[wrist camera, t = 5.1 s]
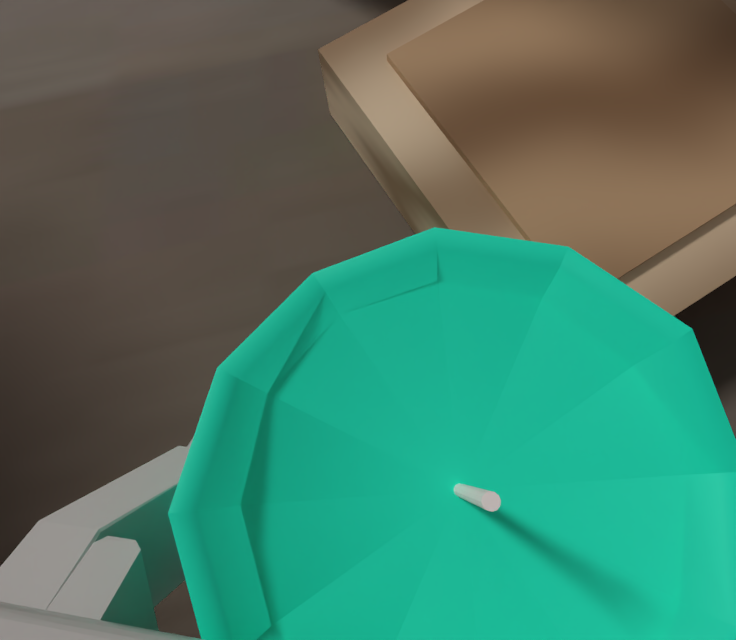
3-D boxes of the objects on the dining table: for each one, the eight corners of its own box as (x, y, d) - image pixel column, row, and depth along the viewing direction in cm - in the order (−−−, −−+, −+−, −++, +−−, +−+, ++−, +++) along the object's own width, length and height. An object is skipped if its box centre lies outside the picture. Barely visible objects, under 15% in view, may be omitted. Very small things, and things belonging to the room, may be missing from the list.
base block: (329, 113, 19) (316, 42, 16) (603, -40, 20) (641, -134, 17) (533, 401, 16) (567, 385, 13) (841, 201, 17) (942, 141, 14)
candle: (322, 596, 15) (56, 1058, 3) (314, 381, 16) (115, 175, 5) (540, 582, 15) (1089, 1020, 3) (510, 366, 16) (793, 115, 5)
